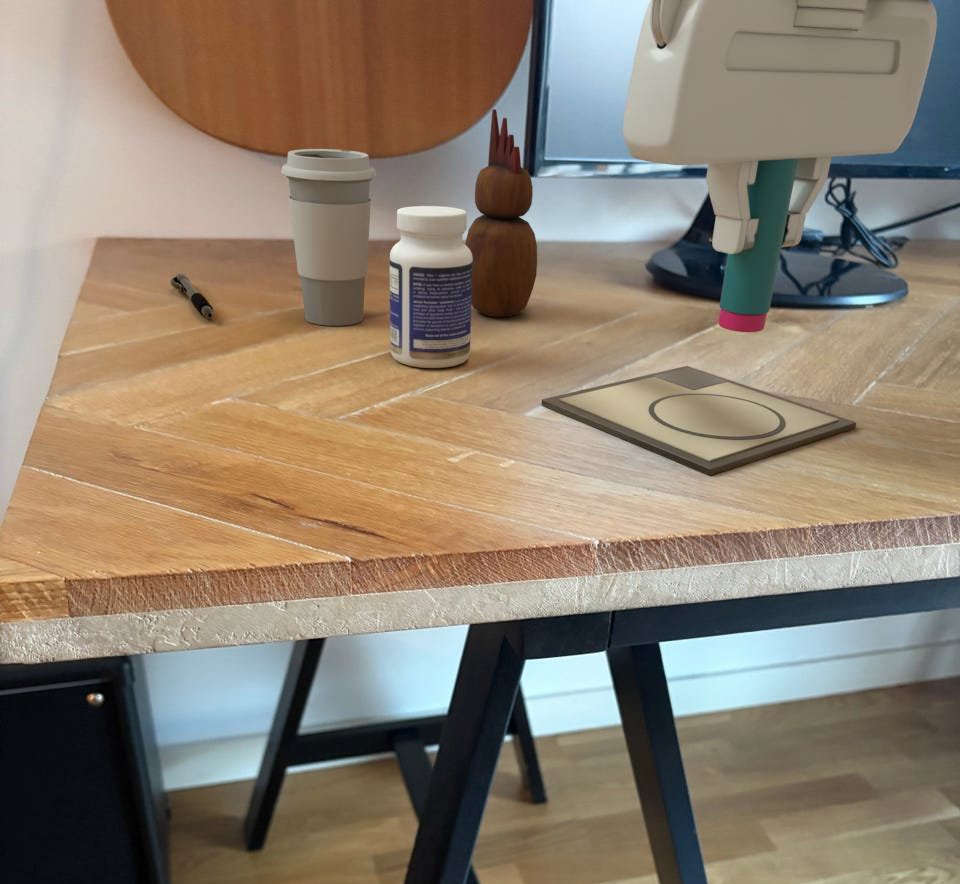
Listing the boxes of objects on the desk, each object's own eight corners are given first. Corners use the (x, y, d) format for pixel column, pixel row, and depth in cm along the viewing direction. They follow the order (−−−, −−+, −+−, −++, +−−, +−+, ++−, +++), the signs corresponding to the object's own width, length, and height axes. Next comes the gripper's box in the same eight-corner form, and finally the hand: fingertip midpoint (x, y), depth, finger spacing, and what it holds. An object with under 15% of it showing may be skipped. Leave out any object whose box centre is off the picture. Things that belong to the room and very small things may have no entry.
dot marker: (737, 318, 59) (775, 99, 53) (776, 329, 57) (821, 103, 51) (705, 324, 58) (741, 99, 52) (745, 336, 56) (787, 103, 50)
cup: (392, 315, 82) (391, 153, 75) (353, 334, 76) (349, 161, 70) (316, 304, 84) (309, 146, 77) (273, 321, 78) (262, 153, 72)
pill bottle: (484, 356, 72) (490, 209, 67) (442, 375, 68) (445, 220, 63) (418, 343, 75) (419, 200, 70) (374, 360, 71) (371, 209, 65)
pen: (167, 283, 87) (165, 270, 87) (186, 282, 88) (185, 269, 87) (196, 323, 76) (194, 308, 76) (218, 322, 77) (216, 307, 76)
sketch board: (685, 371, 71) (687, 363, 71) (855, 428, 62) (857, 419, 62) (541, 405, 64) (541, 396, 63) (710, 475, 55) (712, 466, 54)
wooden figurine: (457, 302, 86) (462, 106, 78) (522, 302, 87) (533, 109, 79) (471, 322, 81) (478, 114, 73) (540, 322, 82) (554, 116, 74)
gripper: (722, -79, 40) (673, 278, 47) (977, -40, 51) (905, 243, 59) (611, -73, 44) (581, 254, 51) (870, -39, 55) (815, 226, 63)
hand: (756, 248), depth 55 cm, fingers closed on dot marker, 3 cm apart
